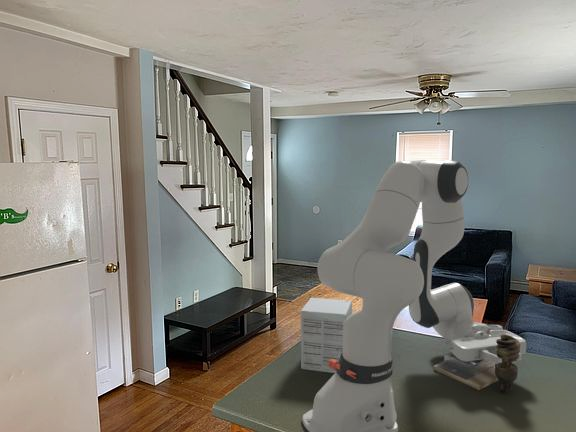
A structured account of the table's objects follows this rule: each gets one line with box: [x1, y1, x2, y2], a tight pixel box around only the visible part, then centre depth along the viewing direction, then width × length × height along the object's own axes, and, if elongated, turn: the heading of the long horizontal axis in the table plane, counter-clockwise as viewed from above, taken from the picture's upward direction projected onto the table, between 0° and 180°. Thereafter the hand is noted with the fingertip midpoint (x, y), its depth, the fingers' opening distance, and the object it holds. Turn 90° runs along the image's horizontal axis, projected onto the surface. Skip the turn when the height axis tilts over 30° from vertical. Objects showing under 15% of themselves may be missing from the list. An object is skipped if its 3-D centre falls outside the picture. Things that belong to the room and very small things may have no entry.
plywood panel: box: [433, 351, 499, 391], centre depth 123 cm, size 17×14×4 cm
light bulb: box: [495, 334, 521, 393], centre depth 110 cm, size 6×6×15 cm
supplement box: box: [300, 297, 353, 374], centre depth 128 cm, size 13×13×18 cm
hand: (509, 359), depth 109 cm, fingers closed on light bulb, 4 cm apart
